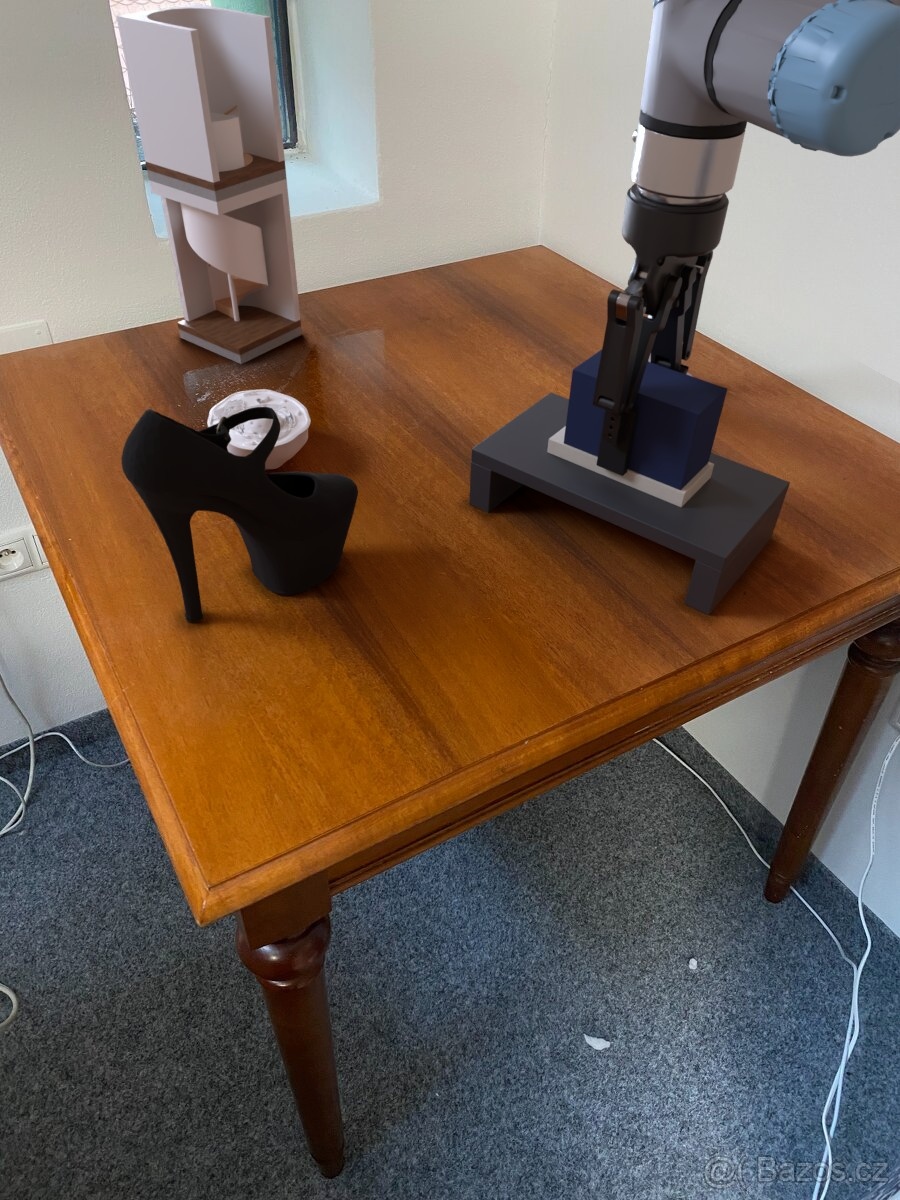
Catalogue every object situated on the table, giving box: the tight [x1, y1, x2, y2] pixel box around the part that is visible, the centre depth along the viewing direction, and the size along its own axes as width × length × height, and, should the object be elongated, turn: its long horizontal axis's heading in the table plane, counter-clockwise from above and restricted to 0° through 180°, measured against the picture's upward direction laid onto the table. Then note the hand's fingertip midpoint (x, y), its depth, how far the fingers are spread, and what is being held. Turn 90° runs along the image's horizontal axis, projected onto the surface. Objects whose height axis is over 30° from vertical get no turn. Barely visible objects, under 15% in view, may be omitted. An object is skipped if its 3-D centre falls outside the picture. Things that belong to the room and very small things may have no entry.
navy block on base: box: [547, 348, 728, 507], centre depth 79 cm, size 14×6×9 cm, turn 52°
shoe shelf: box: [468, 392, 791, 616], centre depth 84 cm, size 26×14×6 cm, turn 53°
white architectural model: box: [116, 3, 303, 365], centre depth 102 cm, size 11×11×35 cm
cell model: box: [206, 388, 311, 470], centre depth 91 cm, size 10×12×7 cm
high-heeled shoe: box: [121, 407, 359, 623], centre depth 71 cm, size 8×19×20 cm, turn 130°
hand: (629, 452), depth 81 cm, fingers closed on navy block on base, 6 cm apart
